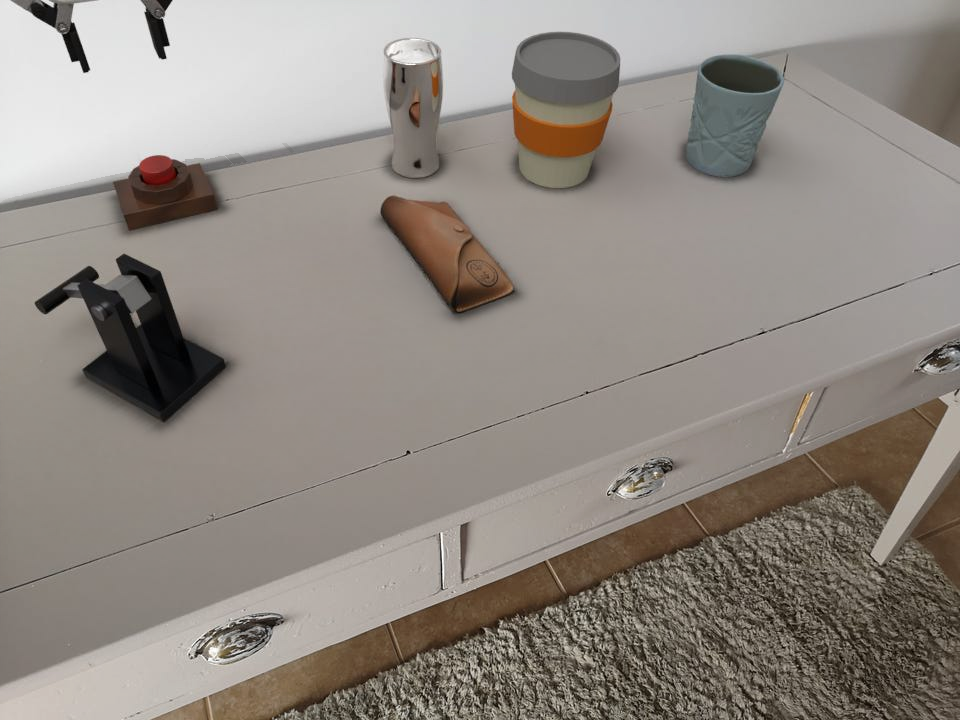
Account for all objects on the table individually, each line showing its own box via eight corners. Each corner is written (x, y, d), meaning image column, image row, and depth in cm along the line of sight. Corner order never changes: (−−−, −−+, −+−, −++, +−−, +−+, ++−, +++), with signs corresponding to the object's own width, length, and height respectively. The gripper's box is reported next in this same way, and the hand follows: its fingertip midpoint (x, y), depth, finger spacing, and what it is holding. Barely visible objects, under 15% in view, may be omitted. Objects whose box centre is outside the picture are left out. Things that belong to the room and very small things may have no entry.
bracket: (85, 377, 73) (38, 283, 64) (150, 327, 78) (114, 232, 69) (163, 422, 70) (124, 329, 61) (226, 366, 74) (198, 273, 66)
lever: (44, 318, 71) (28, 297, 70) (96, 282, 75) (82, 261, 74) (114, 327, 64) (97, 303, 63) (168, 286, 68) (154, 263, 67)
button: (146, 189, 87) (142, 175, 86) (140, 172, 89) (136, 159, 88) (179, 181, 88) (175, 168, 87) (172, 165, 91) (168, 152, 89)
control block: (129, 230, 88) (118, 201, 85) (118, 197, 92) (107, 168, 89) (217, 209, 91) (210, 180, 88) (203, 178, 95) (196, 149, 92)
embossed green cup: (768, 177, 100) (799, 90, 91) (695, 184, 98) (720, 96, 90) (734, 135, 107) (760, 50, 98) (665, 141, 105) (686, 55, 96)
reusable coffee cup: (552, 209, 94) (567, 93, 83) (485, 162, 100) (490, 49, 89) (623, 173, 99) (645, 60, 88) (555, 131, 106) (568, 21, 95)
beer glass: (453, 170, 98) (454, 55, 87) (405, 186, 96) (401, 70, 85) (424, 144, 102) (422, 31, 91) (378, 159, 99) (370, 45, 88)
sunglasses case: (521, 287, 83) (496, 254, 77) (471, 329, 83) (443, 300, 78) (443, 198, 93) (416, 164, 88) (399, 236, 94) (370, 204, 88)
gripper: (157, -164, 71) (201, 30, 84) (-57, -147, 65) (26, 59, 78) (175, -141, 66) (218, 61, 79) (-53, -120, 61) (34, 93, 74)
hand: (123, 58), depth 79 cm, fingers open, 6 cm apart
